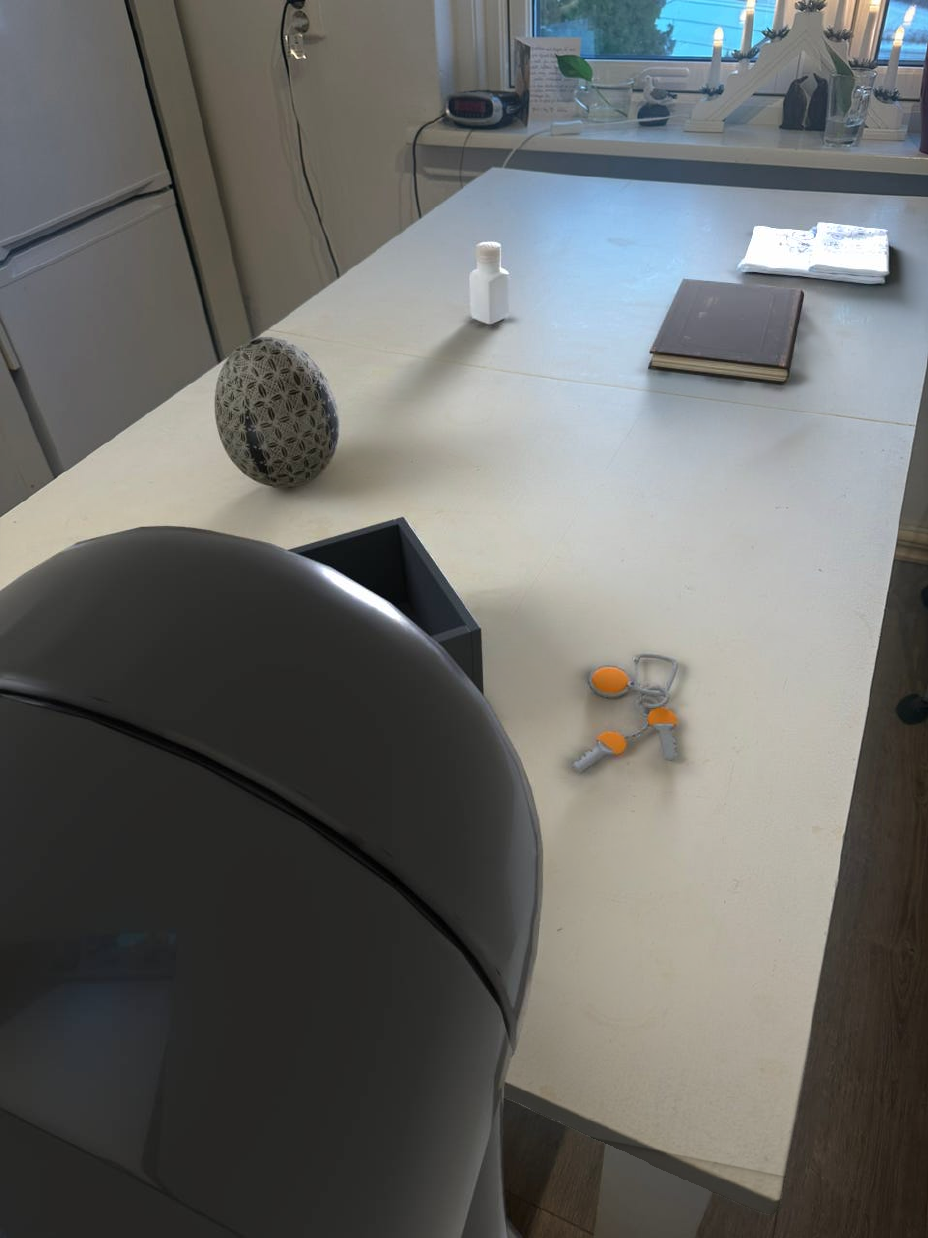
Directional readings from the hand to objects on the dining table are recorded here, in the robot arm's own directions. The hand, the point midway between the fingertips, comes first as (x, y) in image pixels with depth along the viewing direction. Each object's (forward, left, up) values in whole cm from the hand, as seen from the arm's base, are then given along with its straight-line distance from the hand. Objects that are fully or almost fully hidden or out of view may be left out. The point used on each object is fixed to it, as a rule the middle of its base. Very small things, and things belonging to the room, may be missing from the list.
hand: (241, 753), depth 54 cm
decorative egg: (+13, +40, -7) cm, 43 cm away
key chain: (+27, -3, -7) cm, 28 cm away
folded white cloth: (+99, +62, -7) cm, 117 cm away
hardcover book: (+72, +46, -7) cm, 86 cm away
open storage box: (+10, +9, -7) cm, 15 cm away
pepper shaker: (+48, +66, -7) cm, 82 cm away
